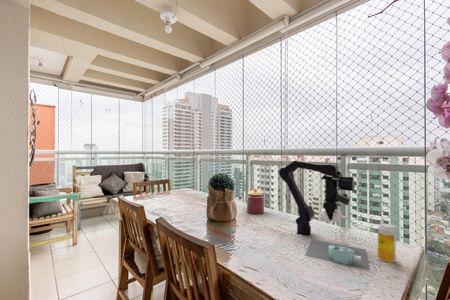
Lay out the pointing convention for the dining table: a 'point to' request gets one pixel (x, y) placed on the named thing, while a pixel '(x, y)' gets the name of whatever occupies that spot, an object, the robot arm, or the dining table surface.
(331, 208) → the robot arm
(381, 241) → the beer can
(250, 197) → the canister
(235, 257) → the dining table surface
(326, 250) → the rubber mat
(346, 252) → the teal connector
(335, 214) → the white rounded piece
